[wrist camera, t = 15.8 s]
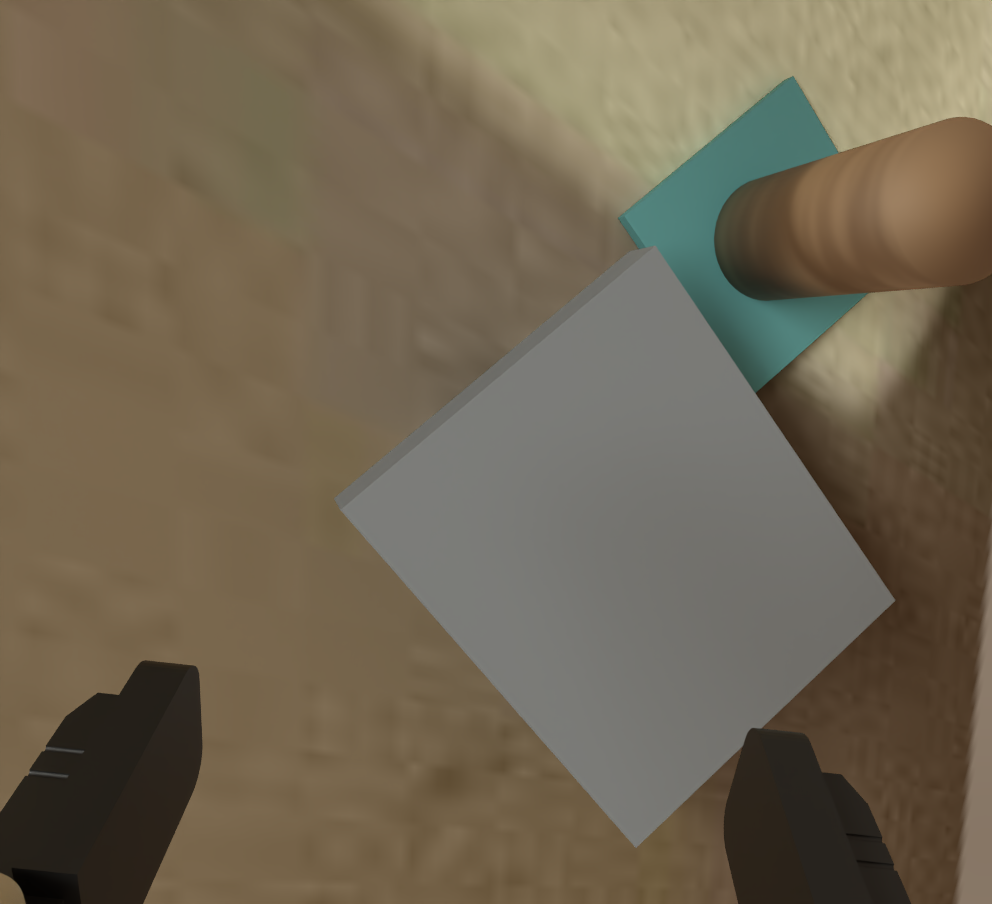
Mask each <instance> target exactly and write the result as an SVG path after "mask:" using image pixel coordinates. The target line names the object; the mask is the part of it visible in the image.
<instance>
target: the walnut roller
mask: <svg viewBox="0 0 992 904" xmlns="http://www.w3.org/2000/svg"><path fill="white" fill-rule="evenodd" d="M714 247H715V253H716V257H717V261H718V264H719V266H720V269H721V271H722V273H723V274H724V276H725V278H726V279H727V280H728V282H729V283H730V284H731V285H732V286H733V287H734V288H735V289H736V290H738V291H739V292H740V293H742V294H744V295H745V296H747V297H750V298H752V299H757V300H763V301H770V300H783V299H795V298H808V297H821V296H833V295H846V294H859V293H871V292H884V291H897V290H909V289H922V288H935V287H947V286H960V285H968V284H972V283H975V282H978V281H980V280H983V279H984V278H986V277H988V276H989V275H991V274H992V126H991V125H989V124H987V123H985V122H983V121H980V120H977V119H974V118H968V117H955V118H950V119H946V120H942V121H939V122H936V123H933V124H930V125H927V126H923V127H920V128H917V129H914V130H911V131H907V132H904V133H901V134H898V135H895V136H892V137H888V138H885V139H882V140H879V141H876V142H873V143H869V144H866V145H863V146H860V147H857V148H853V149H850V150H847V151H844V152H841V153H838V154H834V155H831V156H828V157H825V158H822V159H819V160H815V161H812V162H809V163H806V164H803V165H799V166H796V167H793V168H790V169H787V170H784V171H780V172H777V173H774V174H771V175H768V176H764V177H761V178H758V179H755V180H752V181H749V182H747V183H745V184H743V185H742V186H740V187H739V188H738V189H736V190H735V191H734V192H733V193H732V194H731V195H730V197H729V198H728V199H727V200H726V202H725V203H724V205H723V207H722V209H721V211H720V213H719V216H718V219H717V222H716V227H715V234H714Z"/></svg>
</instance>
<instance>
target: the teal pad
mask: <svg viewBox="0 0 992 904" xmlns="http://www.w3.org/2000/svg"><path fill="white" fill-rule="evenodd" d="M834 154H838V151H837V149H836V148H835V146H834V144H833V143H832V141H831V139H830V138H829V136H828V134H827V133H826V131H825V129H824V127H823V126H822V124H821V122H820V121H819V119H818V117H817V116H816V114H815V112H814V111H813V109H812V107H811V105H810V104H809V102H808V100H807V99H806V97H805V95H804V94H803V92H802V90H801V88H800V87H799V85H798V83H797V82H796V80H795V78H794V77H793V76H792V77H790V78H788V79H786V80H784V81H783V82H782V83H781V84H779V85H778V86H777V87H776V88H774V89H773V90H772V91H771V92H770V93H768V94H767V95H766V96H765V97H764V98H762V99H761V100H760V101H759V102H758V103H756V104H755V105H754V106H753V107H752V108H750V109H749V110H748V111H747V112H745V113H744V114H743V115H742V116H741V117H739V118H738V119H737V120H736V121H735V122H733V123H732V124H731V125H730V126H729V127H727V128H726V129H725V130H724V131H723V132H721V133H720V134H719V135H718V136H717V137H715V138H714V139H713V140H712V141H710V142H709V143H708V144H707V145H706V146H704V147H703V148H702V149H701V150H700V151H698V152H697V153H696V154H695V155H694V156H692V157H691V158H690V159H689V160H688V161H686V162H685V163H684V164H683V165H681V166H680V167H679V168H678V169H677V170H675V171H674V172H673V173H672V174H671V175H669V176H668V177H667V178H666V179H665V180H663V181H662V182H661V183H660V184H659V185H657V186H656V187H655V188H654V189H653V190H651V191H650V192H649V193H648V194H646V195H645V196H644V197H643V198H642V199H640V200H639V201H638V202H637V203H636V204H634V205H633V206H632V207H631V208H630V209H628V210H627V211H626V212H625V213H624V214H622V215H621V216H620V217H619V218H618V219H619V220H620V222H621V223H622V225H623V226H624V227H625V229H626V230H627V232H628V233H629V235H630V236H631V238H632V239H633V241H634V242H635V244H636V245H637V247H638V248H639V249H642V248H646V247H651V246H656V247H657V249H658V250H659V252H660V253H661V255H662V256H663V258H664V259H665V261H666V262H667V264H668V265H669V266H670V268H671V269H672V271H673V272H674V274H675V275H676V277H677V278H678V280H679V281H680V283H681V284H682V286H683V287H684V289H685V290H686V292H687V293H688V295H689V296H690V298H691V299H692V300H693V302H694V303H695V305H696V306H697V308H698V309H699V311H700V312H701V314H702V315H703V317H704V318H705V320H706V321H707V323H708V324H709V326H710V327H711V329H712V330H713V332H714V333H715V335H716V336H717V337H718V339H719V340H720V342H721V343H722V345H723V346H724V348H725V349H726V351H727V352H728V354H729V355H730V357H731V358H732V360H733V361H734V363H735V364H736V366H737V367H738V369H739V370H740V371H741V373H742V374H743V376H744V377H745V379H746V380H747V382H748V383H749V385H750V386H751V388H752V389H753V391H754V392H755V393H756V392H757V391H758V390H759V389H760V388H762V387H763V386H764V385H765V384H766V383H767V382H768V381H770V380H771V379H772V378H773V377H774V376H775V375H776V374H777V373H779V372H780V371H781V370H782V369H783V368H784V367H785V366H786V365H788V364H789V363H790V362H791V361H792V360H793V359H794V358H795V357H797V356H798V355H799V354H800V353H801V352H802V351H803V350H805V349H806V348H807V347H808V346H809V345H810V344H811V343H812V342H814V341H815V340H816V339H817V338H818V337H819V336H820V335H821V334H823V333H824V332H825V331H826V330H827V329H828V328H829V327H830V326H832V325H833V324H834V323H835V322H836V321H837V320H838V319H840V318H841V317H842V316H843V315H844V314H845V313H846V312H847V311H849V310H850V309H851V308H852V307H853V306H854V305H855V304H856V303H858V302H859V301H860V300H861V299H862V298H863V297H864V296H865V295H867V294H868V293H859V294H846V295H833V296H821V297H808V298H795V299H783V300H770V301H763V300H757V299H752V298H750V297H747V296H745V295H744V294H742V293H740V292H739V291H738V290H736V289H735V288H734V287H733V286H732V285H731V284H730V283H729V282H728V280H727V279H726V278H725V276H724V274H723V273H722V271H721V269H720V266H719V264H718V261H717V257H716V253H715V247H714V234H715V227H716V222H717V219H718V216H719V213H720V211H721V209H722V207H723V205H724V203H725V202H726V200H727V199H728V198H729V197H730V195H731V194H732V193H733V192H734V191H735V190H736V189H738V188H739V187H740V186H742V185H743V184H745V183H747V182H749V181H752V180H755V179H758V178H761V177H764V176H768V175H771V174H774V173H777V172H780V171H784V170H787V169H790V168H793V167H796V166H799V165H803V164H806V163H809V162H812V161H815V160H819V159H822V158H825V157H828V156H831V155H834Z"/></svg>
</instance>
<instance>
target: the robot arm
mask: <svg viewBox="0 0 992 904" xmlns="http://www.w3.org/2000/svg"><path fill="white" fill-rule="evenodd" d="M201 758H202V726H201V703H200V681H199V672H198V669H197V667H196V666H192V665H183V664H174V663H164V662H155V661H146V660H145V661H142V662H141V663H140V664H139V665H138V666H137V667H136V669H135V670H134V672H133V673H132V675H131V677H130V678H129V680H128V681H127V683H126V685H125V686H124V688H123V689H122V691H121V693H120V694H119V695H114V694H105V693H97V694H96V695H94V696H93V697H91V698H90V699H89V700H87V701H86V702H85V703H83V704H82V705H81V706H79V707H78V708H77V709H75V710H74V711H73V712H71V713H70V714H69V715H67V716H66V717H65V719H64V720H63V721H62V723H61V724H60V726H59V727H58V729H57V730H56V732H55V733H54V735H53V736H52V738H51V739H50V741H49V742H48V743H47V745H46V749H45V751H44V752H43V751H42V752H41V754H40V755H39V757H38V758H37V760H36V761H35V762H34V764H33V765H32V767H31V768H30V772H29V775H28V776H25V777H24V779H23V780H22V782H21V783H20V784H19V786H18V787H17V789H16V790H15V792H14V793H13V795H12V796H11V798H10V799H9V801H8V802H7V804H6V805H5V806H4V808H3V809H2V811H1V812H0V904H143V902H144V900H145V898H146V896H147V894H148V891H149V889H150V887H151V885H152V882H153V880H154V878H155V876H156V873H157V871H158V869H159V867H160V864H161V862H162V860H163V858H164V856H165V853H166V851H167V849H168V847H169V844H170V842H171V840H172V838H173V835H174V833H175V831H176V829H177V826H178V824H179V822H180V820H181V818H182V815H183V813H184V811H185V809H186V806H187V804H188V802H189V800H190V797H191V795H192V793H193V790H194V788H195V785H196V782H197V778H198V774H199V770H200V765H201ZM724 841H725V848H726V853H727V858H728V862H729V866H730V870H731V874H732V879H733V883H734V887H735V891H736V896H737V900H738V904H911V902H910V900H909V898H908V895H907V893H906V891H905V888H904V886H903V884H902V882H901V879H900V877H899V875H898V872H897V871H894V867H893V866H894V863H893V861H892V859H891V856H890V854H889V852H888V849H887V847H886V845H885V844H884V843H882V836H881V833H880V831H879V829H878V826H877V824H876V822H875V819H874V817H873V815H872V813H871V810H870V808H869V806H868V804H867V803H866V802H865V801H864V799H863V798H862V797H861V796H860V795H859V794H858V793H857V792H856V790H855V789H854V788H853V787H852V786H851V785H850V784H849V783H848V782H847V780H846V779H845V778H844V777H843V776H842V775H841V774H832V773H822V772H821V769H820V766H819V764H818V761H817V759H816V756H815V754H814V751H813V748H812V746H811V743H810V741H809V739H808V738H807V736H806V735H805V734H803V733H797V732H787V731H778V730H769V729H760V728H751V729H750V730H749V731H748V733H747V735H746V738H745V741H744V744H743V748H742V751H741V755H740V758H739V762H738V765H737V769H736V772H735V775H734V779H733V782H732V786H731V789H730V793H729V796H728V800H727V803H726V808H725V815H724Z"/></svg>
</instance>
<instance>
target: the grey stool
mask: <svg viewBox="0 0 992 904" xmlns="http://www.w3.org/2000/svg"><path fill="white" fill-rule="evenodd" d="M334 499H335V501H336V503H337V505H338V506H339V508H340V510H341V511H342V512H343V513H344V514H345V516H346V517H347V518H348V519H349V520H350V521H351V522H352V524H353V525H354V526H355V527H356V528H357V529H358V530H359V532H360V533H361V534H362V535H363V536H364V537H365V539H366V540H367V541H368V542H369V543H370V544H371V545H372V547H373V548H374V549H375V550H376V551H377V552H378V553H379V555H380V556H381V557H382V558H383V559H384V560H385V561H386V563H387V564H388V565H389V566H390V567H391V568H392V569H393V571H394V572H395V573H396V574H397V575H398V576H399V577H400V579H401V580H402V581H403V582H404V583H405V584H406V585H407V587H408V588H409V589H410V590H411V591H412V592H413V593H414V595H415V596H416V597H417V598H418V599H419V600H420V601H421V603H422V604H423V605H424V606H425V607H426V608H427V609H428V611H429V612H430V613H431V614H432V615H433V616H434V617H435V619H436V620H437V621H438V622H439V623H440V624H441V625H442V627H443V628H444V629H445V630H446V631H447V632H448V633H449V635H450V636H451V637H452V638H453V639H454V640H455V641H456V643H457V644H458V645H459V646H460V647H461V648H462V649H463V651H464V652H465V653H466V654H467V655H468V656H469V658H470V659H471V660H472V661H473V662H474V663H475V664H476V666H477V667H478V668H479V669H480V670H481V671H482V672H483V674H484V675H485V676H486V677H487V678H488V679H489V680H490V682H491V683H492V684H493V685H494V686H495V687H496V688H497V690H498V691H499V692H500V693H501V694H502V695H503V696H504V698H505V699H506V700H507V701H508V702H509V703H510V704H511V706H512V707H513V708H514V709H515V710H516V711H517V712H518V714H519V715H520V716H521V717H522V718H523V719H524V720H525V722H526V723H527V724H528V725H529V726H530V727H531V728H532V730H533V731H534V732H535V733H536V734H537V735H538V736H539V738H540V739H541V740H542V741H543V742H544V743H545V744H546V746H547V747H548V748H549V749H550V750H551V751H552V752H553V754H554V755H555V756H556V757H557V758H558V759H559V760H560V762H561V763H562V764H563V765H564V766H565V767H566V768H567V770H568V771H569V772H570V773H571V774H572V775H573V777H574V778H575V779H576V780H577V781H578V782H579V783H580V785H581V786H582V787H583V788H584V789H585V790H586V791H587V793H588V794H589V795H590V796H591V797H592V798H593V799H594V801H595V802H596V803H597V804H598V805H599V806H600V807H601V809H602V810H603V811H604V812H605V813H606V814H607V815H608V817H609V818H610V819H611V820H612V821H613V822H614V823H615V825H616V826H617V827H618V828H619V829H620V830H621V831H622V833H623V834H624V835H625V836H626V837H627V838H628V839H629V841H630V842H631V843H632V844H633V845H634V846H635V847H637V846H638V845H639V844H641V843H642V842H643V841H644V840H645V839H646V838H647V837H648V836H649V835H650V834H651V833H652V832H653V831H654V830H655V829H656V828H657V827H658V826H659V825H660V824H662V823H663V822H664V821H665V820H666V819H667V818H668V817H669V816H670V815H671V814H672V813H673V812H674V811H675V810H676V809H677V808H678V807H679V806H680V805H681V804H682V803H684V802H685V801H686V800H687V799H688V798H689V797H690V796H691V795H692V794H693V793H694V792H695V791H696V790H697V789H698V788H699V787H700V786H701V785H702V784H703V783H705V782H706V781H707V780H708V779H709V778H710V777H711V776H712V775H713V774H714V773H715V772H716V771H717V770H718V769H719V768H720V767H721V766H722V765H723V764H724V763H725V762H727V761H728V760H729V759H730V758H731V757H732V756H733V755H734V754H735V753H736V752H737V751H738V750H739V749H740V748H741V747H742V746H743V744H744V741H745V738H746V735H747V733H748V731H749V730H750V729H751V728H760V729H761V728H762V727H763V726H764V725H765V724H766V723H767V722H768V721H770V720H771V719H772V718H773V717H774V716H775V715H776V714H777V713H778V712H779V711H780V710H781V709H782V708H783V707H784V706H785V705H786V704H787V703H788V702H789V701H790V700H792V699H793V698H794V697H795V696H796V695H797V694H798V693H799V692H800V691H801V690H802V689H803V688H804V687H805V686H806V685H807V684H808V683H809V682H810V681H811V680H812V679H814V678H815V677H816V676H817V675H818V674H819V673H820V672H821V671H822V670H823V669H824V668H825V667H826V666H827V665H828V664H829V663H830V662H831V661H832V660H833V659H835V658H836V657H837V656H838V655H839V654H840V653H841V652H842V651H843V650H844V649H845V648H846V647H847V646H848V645H849V644H850V643H851V642H852V641H853V640H854V639H855V638H857V637H858V636H859V635H860V634H861V633H862V632H863V631H864V630H865V629H866V628H867V627H868V626H869V625H870V624H871V623H872V622H873V621H874V620H875V619H876V618H878V617H879V616H880V615H881V614H882V613H883V612H884V611H885V610H886V609H887V608H888V607H889V606H890V605H891V604H892V603H893V602H894V601H895V599H894V598H893V596H892V595H891V593H890V592H889V590H888V589H887V587H886V586H885V584H884V583H883V581H882V580H881V579H880V577H879V576H878V574H877V573H876V571H875V570H874V568H873V567H872V565H871V564H870V562H869V561H868V559H867V558H866V556H865V555H864V553H863V552H862V550H861V549H860V547H859V546H858V545H857V543H856V542H855V540H854V539H853V537H852V536H851V534H850V533H849V531H848V530H847V528H846V527H845V525H844V524H843V522H842V521H841V519H840V518H839V516H838V515H837V513H836V512H835V510H834V509H833V508H832V506H831V505H830V503H829V502H828V500H827V499H826V497H825V496H824V494H823V493H822V491H821V490H820V488H819V487H818V485H817V484H816V482H815V481H814V479H813V478H812V476H811V475H810V474H809V472H808V471H807V469H806V468H805V466H804V465H803V463H802V462H801V460H800V459H799V457H798V456H797V454H796V453H795V451H794V450H793V448H792V447H791V445H790V444H789V442H788V441H787V440H786V438H785V437H784V435H783V434H782V432H781V431H780V429H779V428H778V426H777V425H776V423H775V422H774V420H773V419H772V417H771V416H770V414H769V413H768V411H767V410H766V408H765V407H764V405H763V404H762V403H761V401H760V400H759V398H758V397H757V395H756V394H755V392H754V391H753V389H752V388H751V386H750V385H749V383H748V382H747V380H746V379H745V377H744V376H743V374H742V373H741V371H740V370H739V369H738V367H737V366H736V364H735V363H734V361H733V360H732V358H731V357H730V355H729V354H728V352H727V351H726V349H725V348H724V346H723V345H722V343H721V342H720V340H719V339H718V337H717V336H716V335H715V333H714V332H713V330H712V329H711V327H710V326H709V324H708V323H707V321H706V320H705V318H704V317H703V315H702V314H701V312H700V311H699V309H698V308H697V306H696V305H695V303H694V302H693V300H692V299H691V298H690V296H689V295H688V293H687V292H686V290H685V289H684V287H683V286H682V284H681V283H680V281H679V280H678V278H677V277H676V275H675V274H674V272H673V271H672V269H671V268H670V266H669V265H668V264H667V262H666V261H665V259H664V258H663V256H662V255H661V253H660V252H659V250H658V249H657V247H656V246H651V247H646V248H642V249H637V250H633V251H629V252H628V253H627V254H626V255H625V256H623V257H622V258H621V259H620V260H619V261H617V262H616V263H615V264H614V265H613V266H611V267H610V268H609V269H608V270H607V271H605V272H604V273H603V274H602V275H601V276H599V277H598V278H597V279H596V280H595V281H593V282H592V283H591V284H590V285H589V286H587V287H586V288H585V289H584V290H583V291H582V292H580V293H579V294H578V295H577V296H576V297H574V298H573V299H572V300H571V301H570V302H568V303H567V304H566V305H565V306H564V307H562V308H561V309H560V310H559V311H558V312H556V313H555V314H554V315H553V316H552V317H550V318H549V319H548V320H547V321H546V322H544V323H543V324H542V325H541V326H540V327H538V328H537V329H536V330H535V331H534V332H532V333H531V334H530V335H529V336H528V337H527V338H525V339H524V340H523V341H522V342H521V343H519V344H518V345H517V346H516V347H515V348H513V349H512V350H511V351H510V352H509V353H507V354H506V355H505V356H504V357H503V358H501V359H500V360H499V361H498V362H497V363H495V364H494V365H493V366H492V367H491V368H489V369H488V370H487V371H486V372H485V373H483V374H482V375H481V376H480V377H479V378H478V379H476V380H475V381H474V382H473V383H472V384H470V385H469V386H468V387H467V388H466V389H464V390H463V391H462V392H461V393H460V394H458V395H457V396H456V397H455V398H454V399H452V400H451V401H450V402H449V403H448V404H446V405H445V406H444V407H443V408H442V409H440V410H439V411H438V412H437V413H436V414H434V415H433V416H432V417H431V418H430V419H428V420H427V421H426V422H425V423H424V424H423V425H421V426H420V427H419V428H418V429H417V430H415V431H414V432H413V433H412V434H411V435H409V436H408V437H407V438H406V439H405V440H403V441H402V442H401V443H400V444H399V445H397V446H396V447H395V448H394V449H393V450H391V451H390V452H389V453H388V454H387V455H385V456H384V457H383V458H382V459H381V460H379V461H378V462H377V463H376V464H375V465H373V466H372V467H371V468H370V469H369V470H368V471H366V472H365V473H364V474H363V475H362V476H360V477H359V478H358V479H357V480H356V481H354V482H353V483H352V484H351V485H350V486H348V487H347V488H346V489H345V490H344V491H342V492H341V493H340V494H339V495H338V496H336V497H335V498H334Z"/></svg>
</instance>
